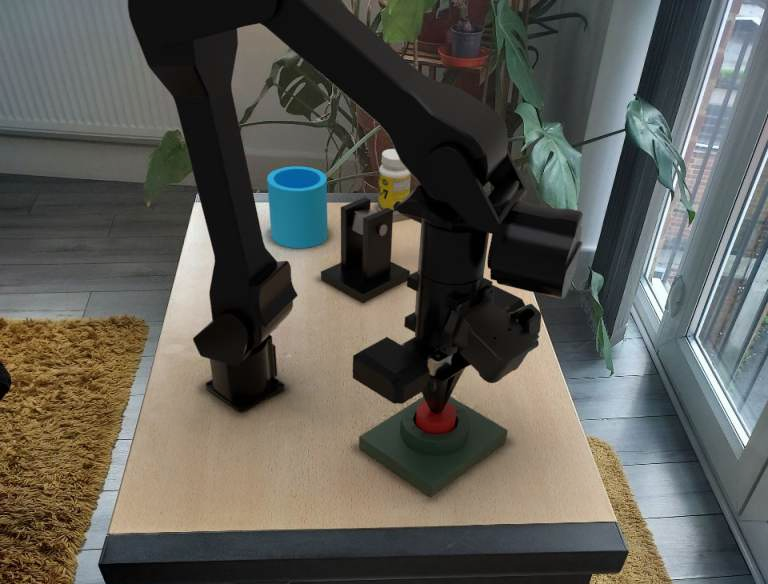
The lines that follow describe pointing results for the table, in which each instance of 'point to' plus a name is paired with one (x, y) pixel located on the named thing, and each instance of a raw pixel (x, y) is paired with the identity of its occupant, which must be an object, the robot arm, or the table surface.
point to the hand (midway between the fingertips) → (436, 411)
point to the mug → (298, 206)
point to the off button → (435, 419)
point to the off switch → (432, 446)
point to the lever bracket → (365, 255)
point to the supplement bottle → (392, 180)
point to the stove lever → (364, 213)
